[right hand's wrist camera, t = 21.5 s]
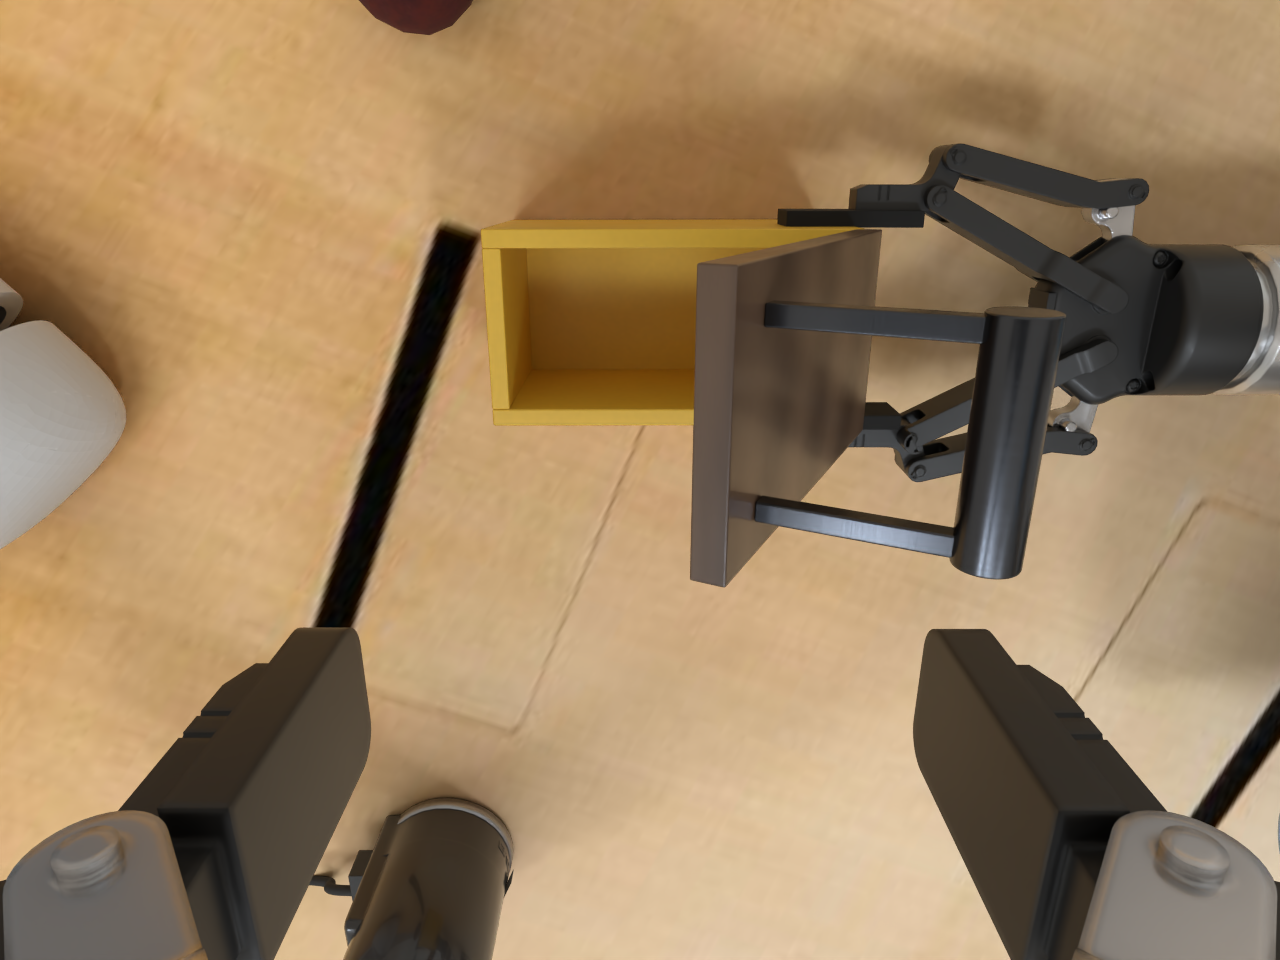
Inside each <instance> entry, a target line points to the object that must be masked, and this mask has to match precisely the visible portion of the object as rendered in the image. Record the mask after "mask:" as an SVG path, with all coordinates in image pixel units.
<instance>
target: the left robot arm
mask: <svg viewBox="0 0 1280 960" xmlns="http://www.w3.org/2000/svg"><path fill="white" fill-rule="evenodd" d="M959 178H961V179H965V180H969V181H972V182H976V183H980V184H983V185H987V186H990V187H994V188H998V189H1001V190H1005V191H1008V192H1012V193H1016V194H1019V195H1023V196H1027V197H1030V198H1034V199H1037V200H1041V201H1045V202H1048V203H1052V204H1056V205H1060V206H1065V207H1079V208H1082V210H1081V214H1082V216H1083V219H1084V220H1085V221H1086V222H1087V223H1090V224H1096V225H1097V226H1099V227H1100V229H1101V231H1102V237H1100V238H1098V239H1097V240H1095V241H1094V242H1092V243H1091V244H1089V245H1088V246H1086V247H1085V248H1083V249H1082V250H1080V251H1079V252H1077V253H1076V254H1074V255H1073V256H1071V257H1070V258H1069V257H1067V256H1066V255H1064V254H1062V253H1059V252H1057V251H1054V250H1052V249H1050V248H1049V247H1047V246H1045V245H1044V244H1042V243H1040V242H1039V241H1037V240H1035V239H1034V238H1032V237H1030V236H1029V235H1027V234H1025V233H1024V232H1022V231H1020V230H1019V229H1017V228H1015V227H1014V226H1012V225H1010V224H1009V223H1007V222H1005V221H1004V220H1002V219H1000V218H999V217H997V216H995V215H994V214H992V213H990V212H989V211H987V210H985V209H984V208H982V207H980V206H979V205H977V204H975V203H974V202H972V201H970V200H969V199H967V198H965V197H964V196H962V195H960V194H959V193H957V192H955V191H954V188H955V186H956V184H957V182H958V180H959ZM1148 193H1149V185H1148V184H1147V182H1146V181H1145V180H1143V179H1138V178H1132V179H1102V180H1091V179H1087V178H1084V177H1080V176H1077V175H1073V174H1069V173H1066V172H1062V171H1059V170H1055V169H1052V168H1048V167H1044V166H1041V165H1037V164H1034V163H1030V162H1027V161H1023V160H1020V159H1016V158H1012V157H1009V156H1005V155H1002V154H998V153H995V152H991V151H987V150H984V149H980V148H977V147H973V146H970V145H966V144H952V145H944V146H939V147H936V148H935V149H934V150H933V151H932V152H931V154H930V156H929V165H928V167H927V169H926V172H925V174H924V175H923V177H922V178H921V179H920V180H919V181H918V182H916V183H914V184H910V185H859V186H856V187H854V188H851V189H850V197H849V209H778V220H777V224H779V225H782V226H785V227H923V225H924V216H925V214H926V215H927V216H929V217H931V218H933V219H934V220H936V221H938V222H939V223H941V224H943V225H944V226H946V227H948V228H949V229H951V230H953V231H955V232H956V233H958V234H960V235H961V236H963V237H965V238H966V239H968V240H970V241H971V242H973V243H975V244H977V245H978V246H980V247H982V248H983V249H985V250H987V251H988V252H990V253H992V254H994V255H995V256H997V257H999V258H1000V259H1002V260H1004V261H1005V262H1007V263H1009V264H1010V265H1012V266H1014V267H1015V268H1016V269H1017V270H1018V271H1020V272H1021V273H1023V274H1025V275H1026V276H1028V277H1030V278H1032V279H1033V280H1035V281H1037V282H1038V283H1037V285H1036V287H1035V288H1031V289H1030V295H1029V301H1028V305H1029V307H1032V308H1043V309H1050V310H1056V311H1060V312H1062V313H1065V314H1066V323H1065V328H1064V334H1063V340H1062V345H1061V351H1060V357H1059V362H1058V368H1057V374H1056V379H1055V385H1054V388H1055V387H1057V386H1059V387H1060V388H1061V389H1063V390H1064V391H1065V392H1066V393H1067V394H1069V395H1070V396H1071V397H1072V398H1071V400H1070V402H1069V403H1068V404H1067V405H1066V406H1065V407H1062V408H1058V409H1054V410H1051V411H1050V413H1049V419H1048V424H1047V430H1046V436H1045V441H1044V447H1043V453H1042V454H1046V453H1050V452H1054V453H1064V454H1073V455H1088V454H1090V453H1092V452H1093V451H1094V450H1095V449H1096V447H1097V439H1096V437H1095V436H1094V435H1093V434H1091V433H1090V429H1091V426H1092V423H1093V419H1094V416H1095V413H1096V410H1097V406H1098V404H1102V403H1105V402H1107V401H1109V400H1111V399H1113V398H1115V397H1118V396H1123V395H1206V394H1210V393H1214V394H1216V395H1280V245H1237V246H1234V247H1230V246H1226V245H1148V244H1146V243H1144V242H1142V241H1140V240H1139V239H1138V238H1136V237H1134V236H1132V233H1133V223H1134V213H1135V205H1138V204H1140V203H1142V202H1143V201H1144V200H1145V199H1146V197H1147V196H1148ZM974 383H975V378H973V379H971V380H969V381H967V382H965V383H963V384H961V385H959V386H956V387H954V388H952V389H950V390H948V391H946V392H944V393H942V394H940V395H938V396H936V397H934V398H931V399H929V400H927V401H925V402H923V403H921V404H919V405H917V406H915V407H913V408H911V409H909V410H906V411H904V412H902V413H900V414H899V413H898V412H897V411H896V410H895V409H894V408H892V407H891V406H890V405H889V404H888V403H887V402H865V412H864V422H863V430H862V431H861V433H860V434H859V435H858V436H857V437H856V438H855V439H854V441H853V442H852V443H851V444H850V445H849V446H848V447H891V448H893V449H894V452H895V462H896V464H897V465H898V466H899V467H900V468H901V469H902V470H903V471H904V472H905V474H906V475H907V476H908V477H909V478H910V479H911V480H912V481H915V482H922V481H927V480H931V479H935V478H940V477H944V476H949V475H953V474H958V473H962V467H963V460H964V453H965V446H966V439H967V433H963V434H959V435H955V436H950V437H946V438H942V439H937V438H939V437H941V436H943V435H946V434H948V433H950V432H952V431H954V430H956V429H958V428H960V427H963V426H965V425H967V424H969V418H970V411H971V404H972V397H973V390H974ZM935 439H937V440H935ZM1278 843H1279V852H1280V814H1279V821H1278Z"/></svg>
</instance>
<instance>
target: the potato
mask: <svg viewBox="0 0 1280 960" xmlns="http://www.w3.org/2000/svg"><path fill="white" fill-rule="evenodd" d="M359 1H360V2H361V3H362V4H363V5H364V6H365V7H366V8H367V10H368V11H369V12H370V13H371V14H372V15H373V16H374V17H375V18H377V19H379V20H381V21H383V22H385V23H387V24H389V25H391V26H392V27H394V28H396V29H398V30H400V31H402V32H407V33H416V34H425V35H431V34H433V33H436V32H438V31H440V30H443V29H445V28H447V27H450V26H452V25H453V24H454V23H455V22H456V21H457V19H458V18H459V17H460V16H461V15H462V14H463V13H464V12H465V11H466V9H467V8H468V7H469V6H470V5H471V3H472V0H359Z"/></svg>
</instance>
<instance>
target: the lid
mask: <svg viewBox="0 0 1280 960" xmlns="http://www.w3.org/2000/svg"><path fill="white" fill-rule="evenodd" d="M881 235H882V230H872V229H856V230H851V231H846V232H842V233H837V234H832V235H827V236H823V237H818V238H813V239H809V240H804V241H799V242H795V243H790V244H785V245H780V246H776V247H771V248H766V249H762V250H757V251H752V252H748V253H743V254H738V255H734V256H729V257H724V258H719V259H715V260H710V261H705V262H701V263H698V264H697V290H696V335H695V380H694V425H693V470H692V516H691V561H690V580H693V581H697V582H702V583H706V584H711V585H715V586H720V587H726V586H727V585H728V583H729V582H730V581H731V580H732V579H733V578H734V577H735V575H736V574H737V573H738V572H739V571H740V570H741V569H742V567H743V566H744V565H745V564H746V563H747V562H748V561H749V559H750V558H751V557H752V556H753V555H754V554H755V553H756V551H757V550H758V549H759V548H760V547H761V546H762V545H763V543H764V542H765V541H766V540H767V539H768V538H769V537H770V535H771V534H772V533H773V532H774V531H775V530H776V529H777V527H778V526H782V527H787V528H792V529H798V530H803V531H809V532H814V533H819V534H825V535H830V536H836V537H841V538H846V539H852V540H857V541H863V542H868V543H874V544H879V545H884V546H890V547H895V548H901V549H906V550H911V551H917V552H922V553H928V554H933V555H939V556H944V557H949V558H950V562H951V563H952V565H953V566H954V567H956V568H957V569H959V570H960V571H962V572H964V573H967V574H970V575H973V576H976V577H981V578H987V579H1009V578H1013V577H1015V576H1017V575H1019V573H1020V572H1021V570H1022V566H1023V560H1024V554H1025V549H1026V543H1027V537H1028V532H1029V526H1030V520H1031V515H1032V509H1033V504H1034V498H1035V492H1036V487H1037V481H1038V475H1039V470H1040V464H1041V458H1042V453H1043V447H1044V441H1045V436H1046V430H1047V424H1048V419H1049V413H1050V408H1051V402H1052V396H1053V391H1054V385H1055V379H1056V374H1057V368H1058V362H1059V357H1060V351H1061V345H1062V340H1063V334H1064V328H1065V323H1066V314H1065V313H1062V312H1060V311H1056V310H1050V309H1043V308H1032V307H994V308H989V309H986V310H985V312H984V313H969V312H953V311H937V310H921V309H905V308H889V307H875V298H876V287H877V277H878V266H879V256H880V246H881ZM872 336H885V337H897V338H910V339H923V340H936V341H949V342H962V343H975V344H980V347H979V354H978V361H977V368H976V376H975V383H974V390H973V397H972V404H971V411H970V418H969V425H968V432H967V439H966V446H965V453H964V460H963V467H962V474H961V481H960V488H959V495H958V502H957V509H956V516H955V523H954V528H952V527H946V526H940V525H935V524H929V523H923V522H917V521H911V520H905V519H899V518H893V517H887V516H881V515H876V514H870V513H864V512H858V511H852V510H846V509H840V508H834V507H828V506H823V505H817V504H811V503H805V502H800V501H801V500H802V499H803V498H804V497H805V495H806V494H807V493H808V492H809V491H810V490H811V489H812V487H813V486H814V485H815V484H816V483H817V482H818V481H819V479H820V478H821V477H822V476H823V475H824V474H825V473H826V471H827V470H828V469H829V468H830V467H831V466H832V465H833V463H834V462H835V461H836V460H837V459H838V458H839V457H840V455H841V454H842V453H843V452H844V451H845V450H846V449H847V447H848V446H849V445H850V444H851V443H852V442H853V441H854V439H855V438H856V437H857V436H858V435H859V434H860V433H861V431H862V430H863V422H864V412H865V401H866V391H867V381H868V370H869V360H870V349H871V339H872Z"/></svg>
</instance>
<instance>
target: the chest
mask: <svg viewBox="0 0 1280 960" xmlns="http://www.w3.org/2000/svg"><path fill="white" fill-rule="evenodd" d="M777 220H778V219H712V220H511V221H507V222H504V223H501V224H497V225H494V226H491V227H487V228H484V229H481V242H482V248H483V249H482V258H483V273H484V288H485V303H486V319H487V334H488V349H489V365H490V380H491V395H492V408H493V423H494V425H694V380H695V335H696V290H697V264H698V263H701V262H705V261H710V260H715V259H719V258H724V257H729V256H734V255H738V254H743V253H748V252H752V251H757V250H762V249H766V248H771V247H776V246H780V245H785V244H790V243H795V242H799V241H804V240H809V239H813V238H818V237H823V236H827V235H832V234H837V233H842V232H846V231H851V230H856V229H864V228H859V227H785V226H782V225H779V224H777Z"/></svg>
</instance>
